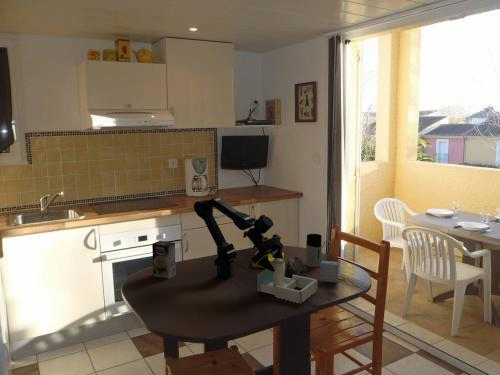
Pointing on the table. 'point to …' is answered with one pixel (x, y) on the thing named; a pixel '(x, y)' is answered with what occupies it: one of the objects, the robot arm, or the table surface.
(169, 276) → the coffee box
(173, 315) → the table surface
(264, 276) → the white and teal drawer
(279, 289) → the dock housing
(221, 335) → the table surface
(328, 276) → the medicine box
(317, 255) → the glass holder
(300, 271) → the fossil
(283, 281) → the salt jar
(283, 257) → the yellow box
